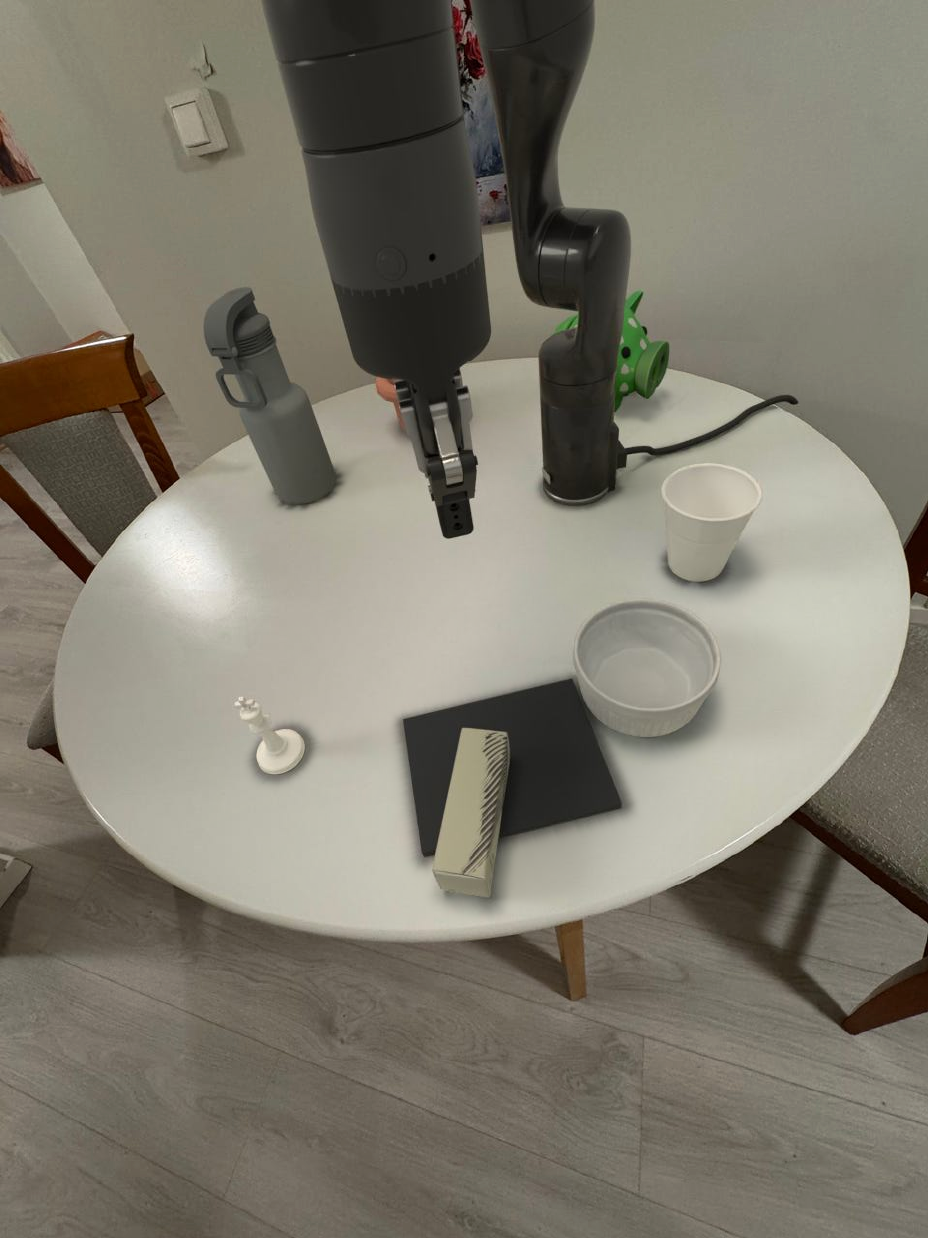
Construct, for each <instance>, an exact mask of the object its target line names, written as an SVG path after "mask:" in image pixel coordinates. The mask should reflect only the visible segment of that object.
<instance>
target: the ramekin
mask: <svg viewBox="0 0 928 1238" xmlns="http://www.w3.org/2000/svg"><path fill="white" fill-rule="evenodd" d="M572 663H573V668H574V671H575V674H576V677H577V680H578V686H579V689H580V693H581V695H582V699H583V701H584V703H585V705H586V707H587V708H588V709H589V710H590V712H591V714H592V715H593V716H595V717H596V719H597V720H598V721H600V722H601V723H602V724H603V725H605V726H607V727H608V728H610V729H611V730H614V731H616V732H618V733H622V734H624V735H627V736H632V737H640V738H654V737H662V736H664V735H665V736H666V735H669V734H671V733H674V732H677V730H679V729H682V728H683V727H685V725H687V724H689V723H690V722H691V720H692V719H694V718H695V716H696V714H697V713H698V711H699V710H700V708H701V707H702V705H703V704H704V701H705V700H706V699H707V698H708V697H709V696H710V694H711V693H712V692H713V690H714V689H715V686H716V684H717V682H718V679H719V675H720V671H721V665H722V656H721V650H720V646H719V643H718V640H717V638H716V636H715V634H714V632H712V630H711V629H710V627H709V626H708V625H707V624H706V623H705V622H704V621H703V620H702V619H701V618H700V617H699V616H697V615H696V614H694V613H693V612H691V611H689V610H687V609H686V608H684V607H681V606H679V605H677V604H674V603H671V602H669V601H664V600H659V599H654V598H653V599H652V598H629V599H622V600H618V601H615V602H612V603H609V604H607V605H604V606H602V607H600V608H598V609H597V610H595V611H594V612H593V613H591V614H590V615H589V616H588V617H587V618H586V619H584V621H583V622H582V623H581V625H580V627H579V628H578V630H577V632H576V635H575V637H574V641H573V648H572Z"/></svg>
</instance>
